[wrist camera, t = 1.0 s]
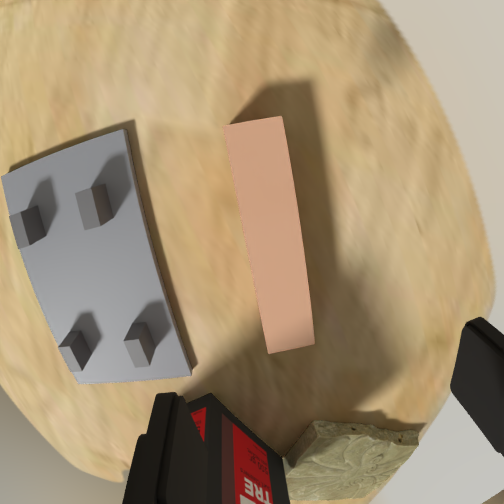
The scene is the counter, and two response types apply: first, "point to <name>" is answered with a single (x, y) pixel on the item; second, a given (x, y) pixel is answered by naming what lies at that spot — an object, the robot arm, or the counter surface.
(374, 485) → the decorative tile
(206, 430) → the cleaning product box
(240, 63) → the counter surface
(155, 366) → the grey plate with pegs
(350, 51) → the counter surface
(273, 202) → the clay strip
